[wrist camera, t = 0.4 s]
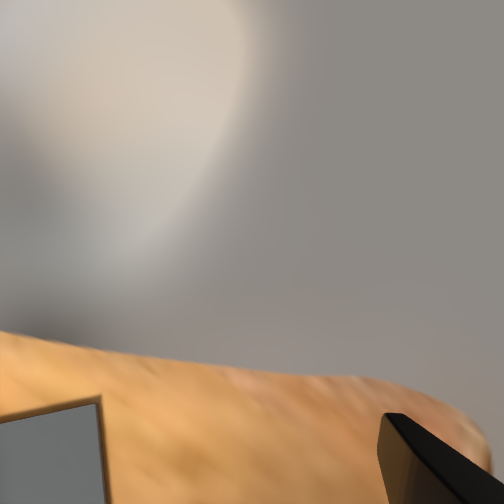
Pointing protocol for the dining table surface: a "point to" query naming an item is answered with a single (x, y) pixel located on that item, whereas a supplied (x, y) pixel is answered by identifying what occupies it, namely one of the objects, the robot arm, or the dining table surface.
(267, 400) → the dining table surface
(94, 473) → the mat
